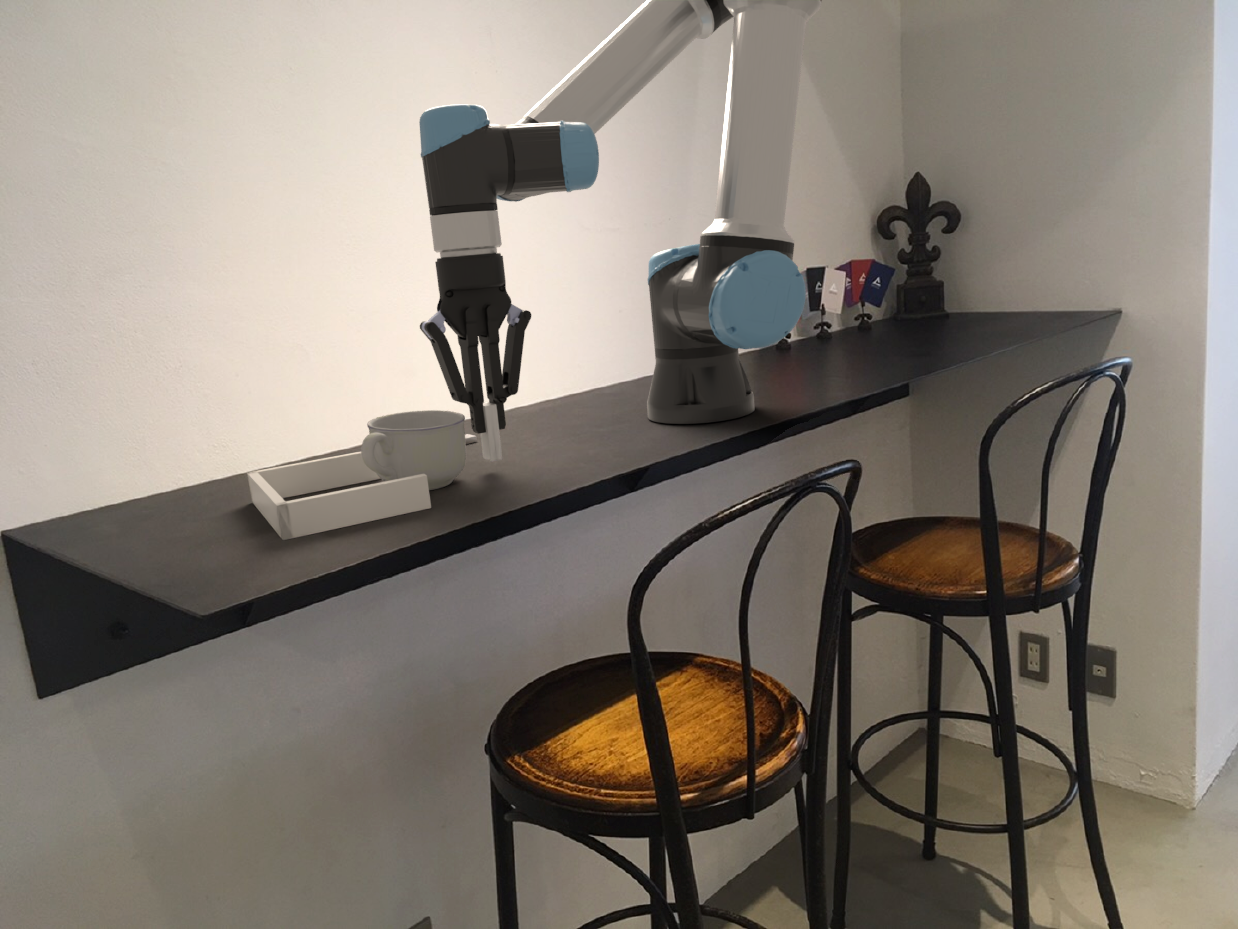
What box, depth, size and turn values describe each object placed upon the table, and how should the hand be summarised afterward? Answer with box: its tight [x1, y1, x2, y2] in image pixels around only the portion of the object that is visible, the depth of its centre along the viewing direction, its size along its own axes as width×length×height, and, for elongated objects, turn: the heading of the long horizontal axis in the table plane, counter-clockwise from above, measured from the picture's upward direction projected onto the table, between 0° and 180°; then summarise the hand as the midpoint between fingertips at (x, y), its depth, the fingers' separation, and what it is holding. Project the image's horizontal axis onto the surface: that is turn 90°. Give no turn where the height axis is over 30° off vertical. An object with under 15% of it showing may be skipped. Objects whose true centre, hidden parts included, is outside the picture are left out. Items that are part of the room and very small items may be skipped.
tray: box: [246, 451, 432, 541], centre depth 105 cm, size 15×19×4 cm
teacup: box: [360, 409, 467, 491], centre depth 109 cm, size 14×11×8 cm
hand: (492, 458), depth 114 cm, fingers closed
